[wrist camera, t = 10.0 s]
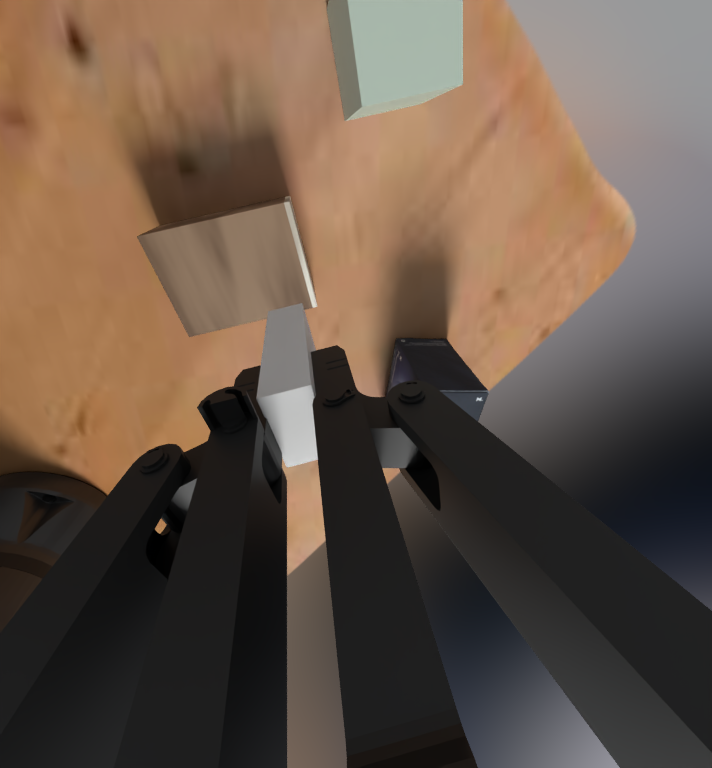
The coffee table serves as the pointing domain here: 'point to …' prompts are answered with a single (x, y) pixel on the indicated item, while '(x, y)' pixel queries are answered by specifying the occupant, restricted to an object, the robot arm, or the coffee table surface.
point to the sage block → (395, 52)
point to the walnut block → (231, 265)
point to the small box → (438, 372)
